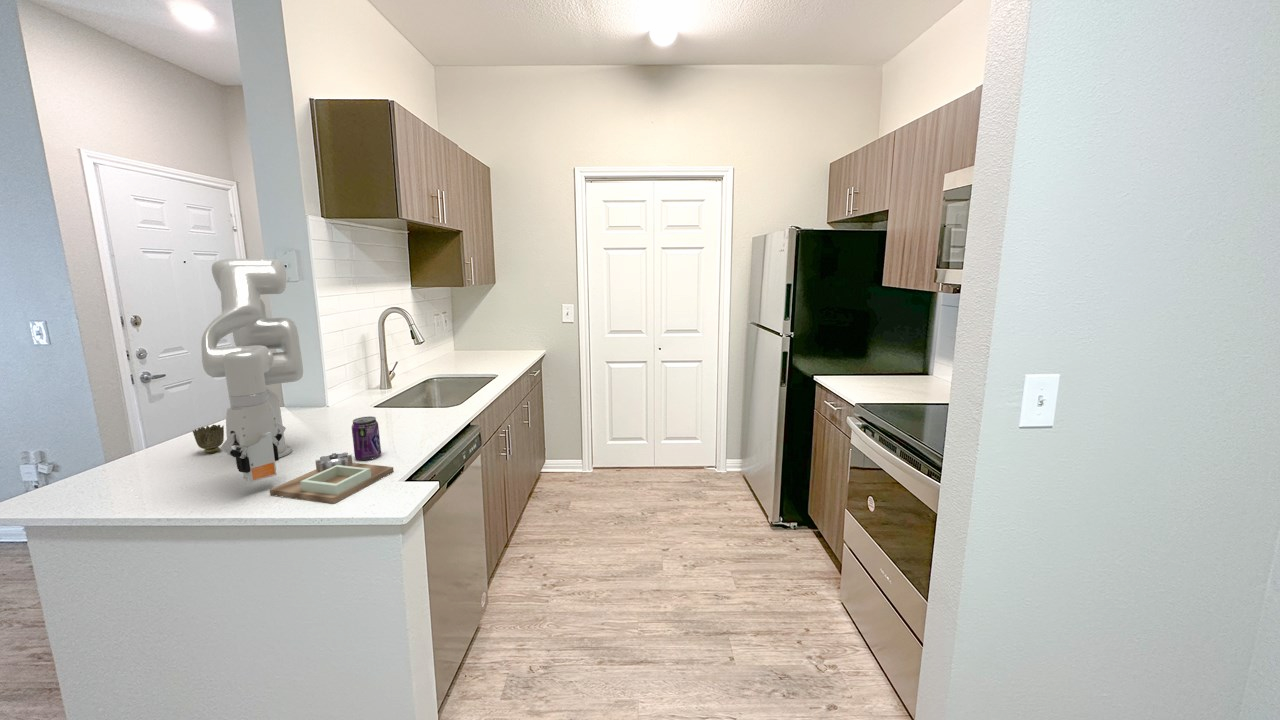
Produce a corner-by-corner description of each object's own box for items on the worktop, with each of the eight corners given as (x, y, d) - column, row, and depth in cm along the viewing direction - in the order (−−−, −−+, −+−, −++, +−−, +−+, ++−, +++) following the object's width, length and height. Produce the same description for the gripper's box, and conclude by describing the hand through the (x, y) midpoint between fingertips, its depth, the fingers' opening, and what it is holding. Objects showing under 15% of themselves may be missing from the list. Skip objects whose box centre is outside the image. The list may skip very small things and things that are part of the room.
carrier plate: (270, 495, 127) (269, 489, 126) (335, 465, 146) (335, 460, 145) (334, 503, 122) (333, 498, 121) (393, 472, 141) (393, 467, 140)
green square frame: (301, 490, 126) (300, 481, 125) (337, 473, 136) (336, 464, 136) (337, 495, 123) (335, 485, 122) (371, 477, 133) (370, 468, 133)
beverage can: (370, 462, 148) (365, 423, 146) (349, 460, 150) (345, 422, 147) (386, 453, 155) (382, 416, 153) (366, 452, 156) (362, 415, 154)
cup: (191, 454, 156) (187, 430, 154) (218, 446, 162) (214, 423, 161) (205, 457, 153) (201, 432, 151) (232, 449, 160) (228, 425, 158)
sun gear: (309, 472, 137) (307, 459, 136) (335, 461, 145) (333, 448, 144) (334, 475, 135) (333, 462, 134) (359, 463, 143) (358, 451, 142)
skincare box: (250, 483, 126) (243, 438, 124) (243, 479, 128) (236, 435, 126) (278, 475, 131) (271, 431, 129) (270, 471, 133) (264, 428, 131)
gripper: (270, 390, 135) (279, 452, 138) (200, 408, 118) (212, 478, 122) (292, 392, 133) (300, 455, 136) (224, 410, 116) (236, 481, 120)
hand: (259, 465), depth 129 cm, fingers closed on skincare box, 6 cm apart
